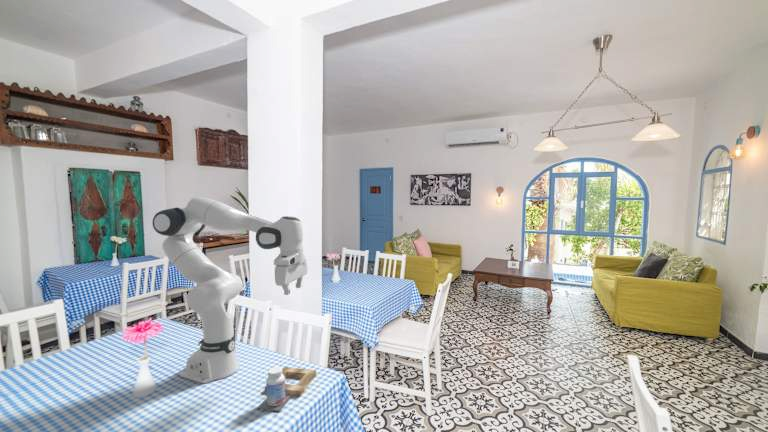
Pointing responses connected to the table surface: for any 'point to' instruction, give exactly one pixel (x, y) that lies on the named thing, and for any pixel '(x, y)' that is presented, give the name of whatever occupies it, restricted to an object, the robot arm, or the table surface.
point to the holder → (306, 379)
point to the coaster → (274, 408)
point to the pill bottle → (275, 387)
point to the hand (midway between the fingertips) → (293, 290)
